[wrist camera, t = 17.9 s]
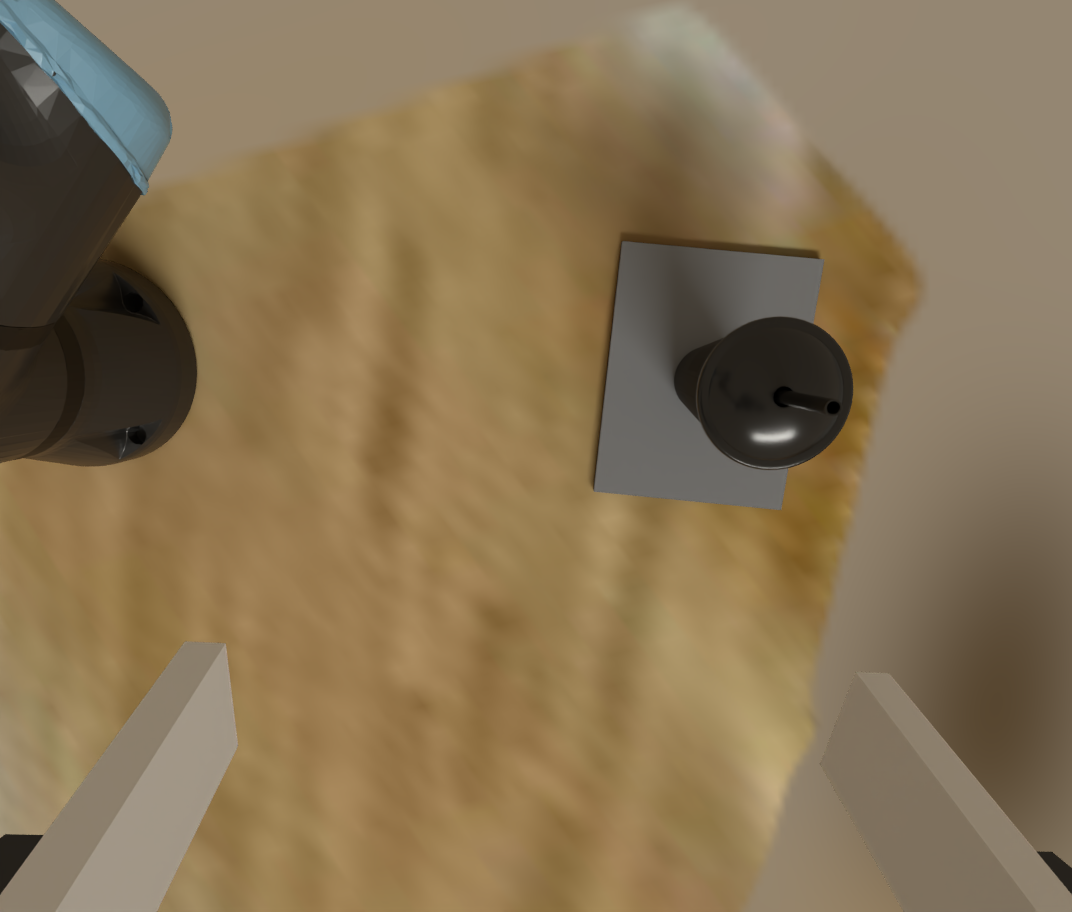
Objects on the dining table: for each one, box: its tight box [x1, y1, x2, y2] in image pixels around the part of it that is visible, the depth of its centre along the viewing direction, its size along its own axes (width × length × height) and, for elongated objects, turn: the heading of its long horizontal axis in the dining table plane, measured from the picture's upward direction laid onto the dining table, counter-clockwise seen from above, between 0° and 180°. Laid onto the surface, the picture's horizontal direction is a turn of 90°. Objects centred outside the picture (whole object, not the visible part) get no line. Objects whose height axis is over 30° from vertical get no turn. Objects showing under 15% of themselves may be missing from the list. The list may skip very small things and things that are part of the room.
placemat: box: [594, 241, 824, 510], centre depth 43 cm, size 14×18×1 cm
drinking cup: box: [674, 316, 853, 470], centre depth 33 cm, size 8×8×20 cm
